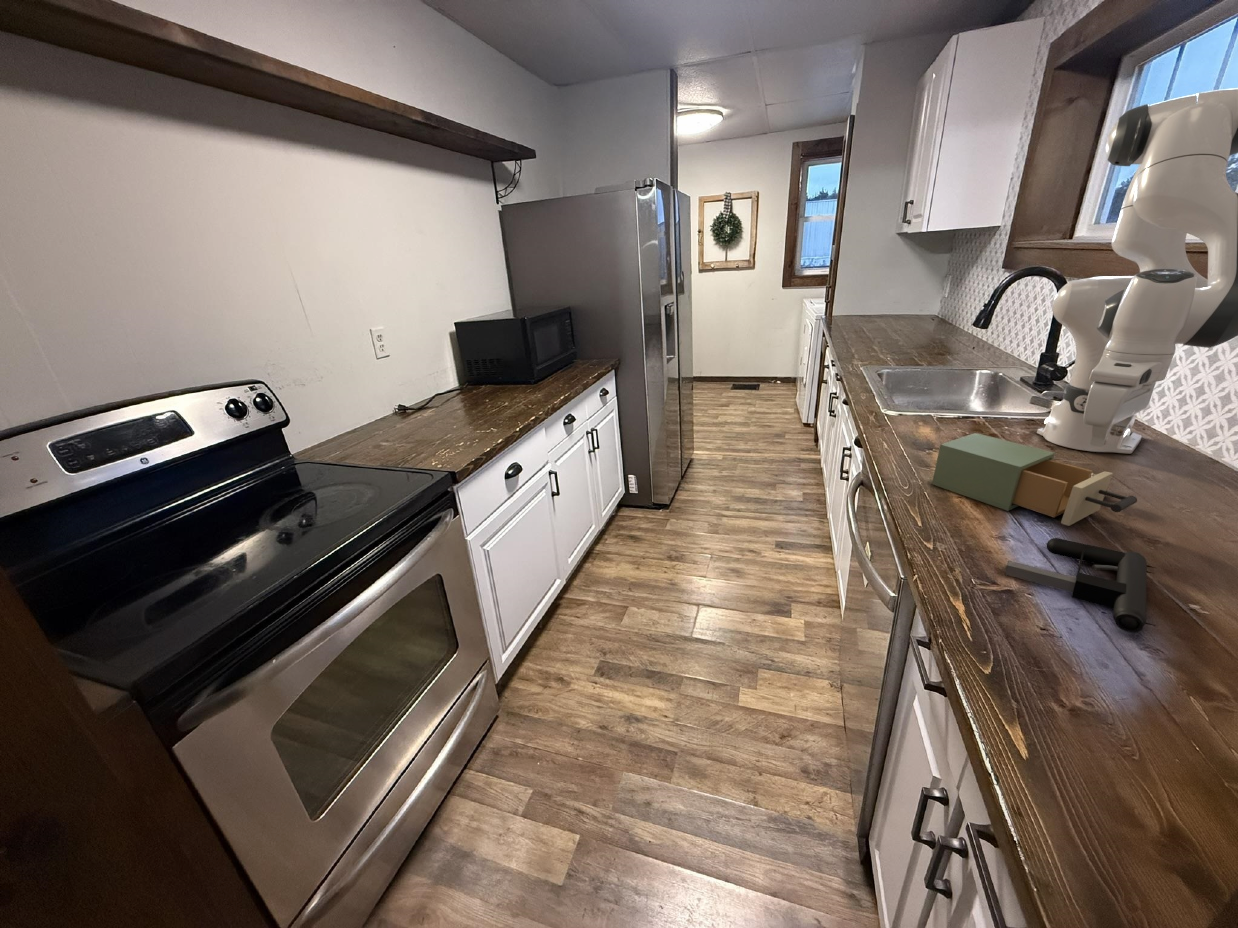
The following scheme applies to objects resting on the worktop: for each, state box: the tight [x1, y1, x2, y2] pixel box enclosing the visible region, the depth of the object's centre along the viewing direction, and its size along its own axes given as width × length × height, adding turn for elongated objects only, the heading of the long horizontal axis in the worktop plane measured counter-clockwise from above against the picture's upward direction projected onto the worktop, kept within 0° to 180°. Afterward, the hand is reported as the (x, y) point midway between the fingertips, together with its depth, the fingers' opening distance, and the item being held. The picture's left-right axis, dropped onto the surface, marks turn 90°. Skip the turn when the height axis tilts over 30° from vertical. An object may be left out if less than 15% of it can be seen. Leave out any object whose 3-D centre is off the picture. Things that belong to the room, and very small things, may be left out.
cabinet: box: [931, 432, 1056, 512], centre depth 101 cm, size 15×13×9 cm
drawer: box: [1012, 459, 1138, 527], centre depth 91 cm, size 18×11×7 cm, turn 28°
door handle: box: [1004, 537, 1157, 633], centre depth 73 cm, size 3×20×16 cm
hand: (1107, 440), depth 94 cm, fingers open, 8 cm apart
